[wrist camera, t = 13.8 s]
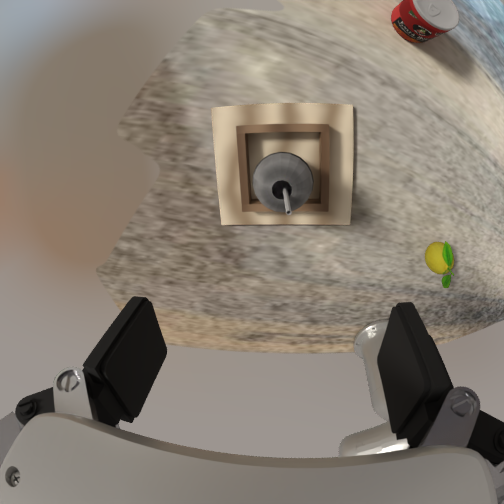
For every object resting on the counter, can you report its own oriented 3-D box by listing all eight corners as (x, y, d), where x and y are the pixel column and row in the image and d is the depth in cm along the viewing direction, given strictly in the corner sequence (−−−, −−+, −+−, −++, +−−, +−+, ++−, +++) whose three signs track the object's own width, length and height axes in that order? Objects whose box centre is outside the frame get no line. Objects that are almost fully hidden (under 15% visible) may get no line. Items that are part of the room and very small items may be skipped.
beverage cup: (287, 134, 40) (286, 145, 22) (317, 170, 42) (336, 210, 24) (252, 162, 43) (223, 197, 25) (281, 197, 45) (274, 253, 27)
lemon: (430, 268, 48) (450, 297, 39) (412, 255, 47) (432, 284, 38) (449, 243, 45) (473, 268, 36) (432, 228, 44) (457, 252, 35)
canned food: (385, 29, 30) (409, 10, 20) (394, -1, 26) (418, -24, 16) (424, 52, 30) (456, 40, 20) (432, 20, 26) (462, 4, 16)
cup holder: (351, 105, 37) (357, 104, 34) (348, 222, 46) (353, 231, 43) (212, 108, 40) (205, 107, 37) (222, 222, 49) (217, 231, 46)
